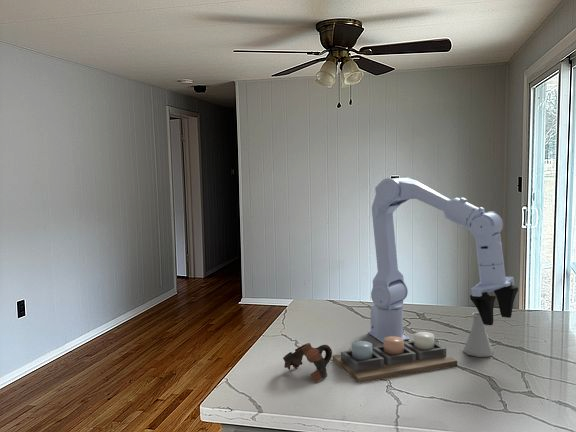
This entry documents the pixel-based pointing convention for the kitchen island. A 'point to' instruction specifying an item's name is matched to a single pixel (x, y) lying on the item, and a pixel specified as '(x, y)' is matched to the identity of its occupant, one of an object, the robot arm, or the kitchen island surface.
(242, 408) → the kitchen island surface
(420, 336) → the cream rounded piece
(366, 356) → the pale blue dome
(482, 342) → the flask
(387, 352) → the terracotta key
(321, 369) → the brown animal figure
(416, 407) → the kitchen island surface
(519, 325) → the kitchen island surface
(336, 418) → the kitchen island surface
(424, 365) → the three-slot key tray
